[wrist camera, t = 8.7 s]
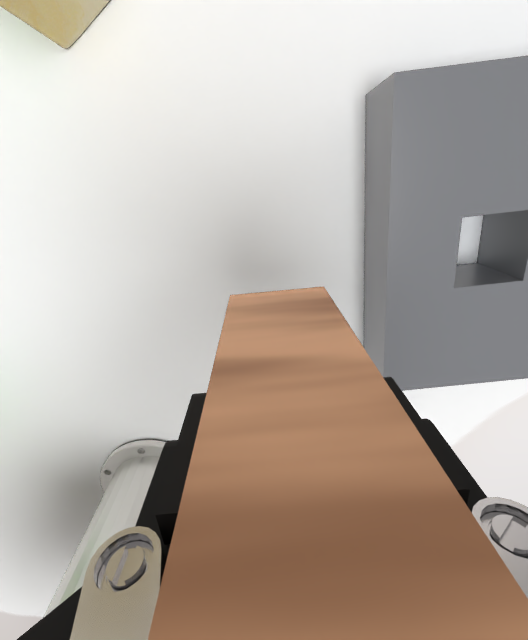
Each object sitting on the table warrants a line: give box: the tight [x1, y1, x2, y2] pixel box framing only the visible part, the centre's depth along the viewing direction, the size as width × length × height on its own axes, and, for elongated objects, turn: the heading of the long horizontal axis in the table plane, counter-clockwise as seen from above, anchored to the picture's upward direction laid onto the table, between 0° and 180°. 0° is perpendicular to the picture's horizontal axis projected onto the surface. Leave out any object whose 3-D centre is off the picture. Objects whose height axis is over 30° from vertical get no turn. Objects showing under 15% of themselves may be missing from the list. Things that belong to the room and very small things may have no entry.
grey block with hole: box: [364, 56, 528, 391], centre depth 28 cm, size 24×16×6 cm, turn 6°
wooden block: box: [148, 287, 528, 640], centre depth 10 cm, size 4×4×13 cm
